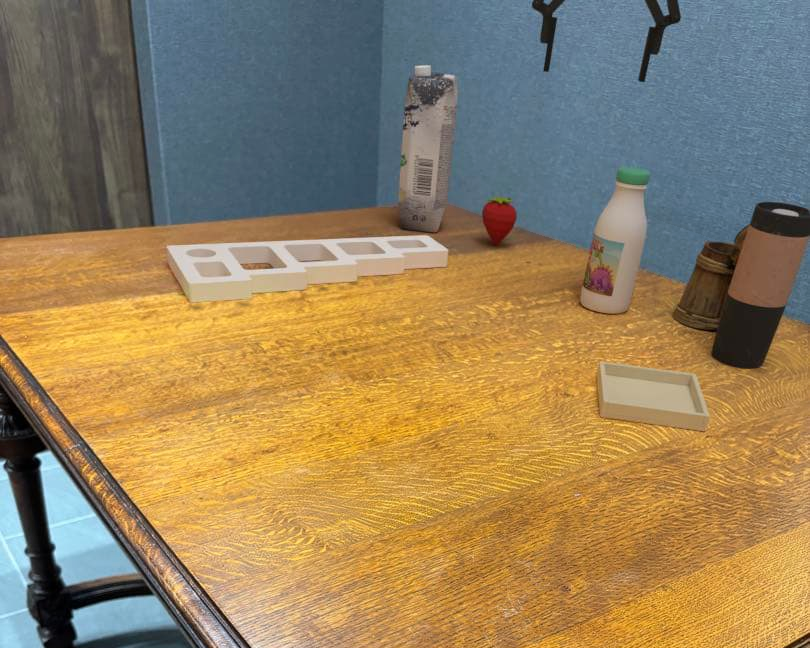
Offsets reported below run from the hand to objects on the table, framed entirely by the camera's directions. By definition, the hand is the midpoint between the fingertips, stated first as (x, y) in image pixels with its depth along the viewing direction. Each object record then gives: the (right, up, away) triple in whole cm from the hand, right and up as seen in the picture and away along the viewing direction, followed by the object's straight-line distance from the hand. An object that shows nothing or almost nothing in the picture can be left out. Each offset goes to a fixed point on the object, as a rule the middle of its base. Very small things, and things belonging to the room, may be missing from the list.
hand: (593, 76), depth 117 cm
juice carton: (-24, -6, +42) cm, 48 cm away
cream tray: (+3, -50, -17) cm, 52 cm away
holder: (-40, -24, +13) cm, 49 cm away
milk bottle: (+4, -30, +11) cm, 32 cm away
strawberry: (-10, -12, +35) cm, 38 cm away
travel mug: (+20, -41, -3) cm, 46 cm away
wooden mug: (+19, -34, +7) cm, 40 cm away
